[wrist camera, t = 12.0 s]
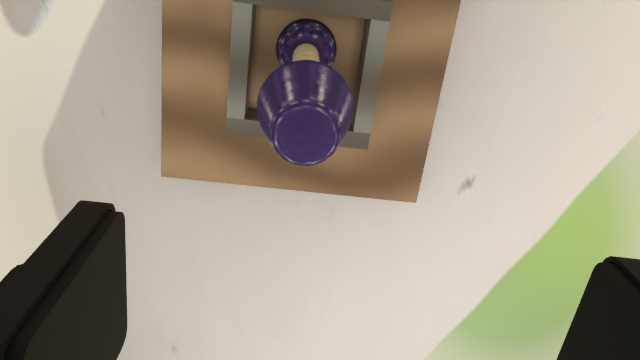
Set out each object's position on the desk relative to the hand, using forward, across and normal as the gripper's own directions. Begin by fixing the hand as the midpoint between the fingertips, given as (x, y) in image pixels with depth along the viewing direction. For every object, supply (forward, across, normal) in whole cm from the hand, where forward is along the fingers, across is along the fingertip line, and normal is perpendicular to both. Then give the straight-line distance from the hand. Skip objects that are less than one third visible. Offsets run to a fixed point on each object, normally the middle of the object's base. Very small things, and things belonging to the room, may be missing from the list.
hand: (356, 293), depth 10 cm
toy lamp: (+29, +1, +1) cm, 29 cm away
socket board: (+30, +1, +2) cm, 30 cm away
